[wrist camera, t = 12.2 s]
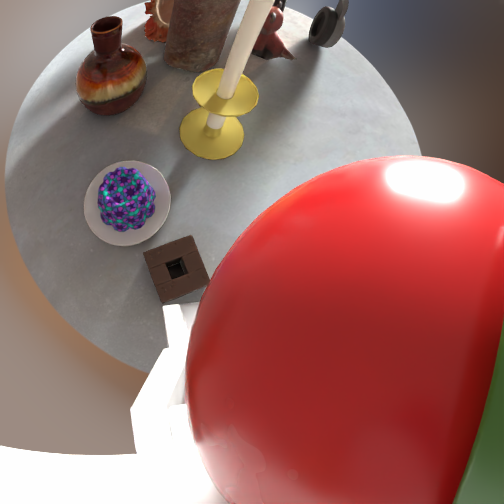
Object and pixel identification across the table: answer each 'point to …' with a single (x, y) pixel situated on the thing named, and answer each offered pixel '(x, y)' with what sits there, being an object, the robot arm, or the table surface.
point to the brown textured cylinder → (198, 33)
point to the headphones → (325, 24)
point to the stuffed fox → (271, 37)
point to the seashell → (158, 19)
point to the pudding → (127, 203)
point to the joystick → (358, 343)
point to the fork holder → (171, 255)
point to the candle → (225, 94)
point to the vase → (110, 71)
